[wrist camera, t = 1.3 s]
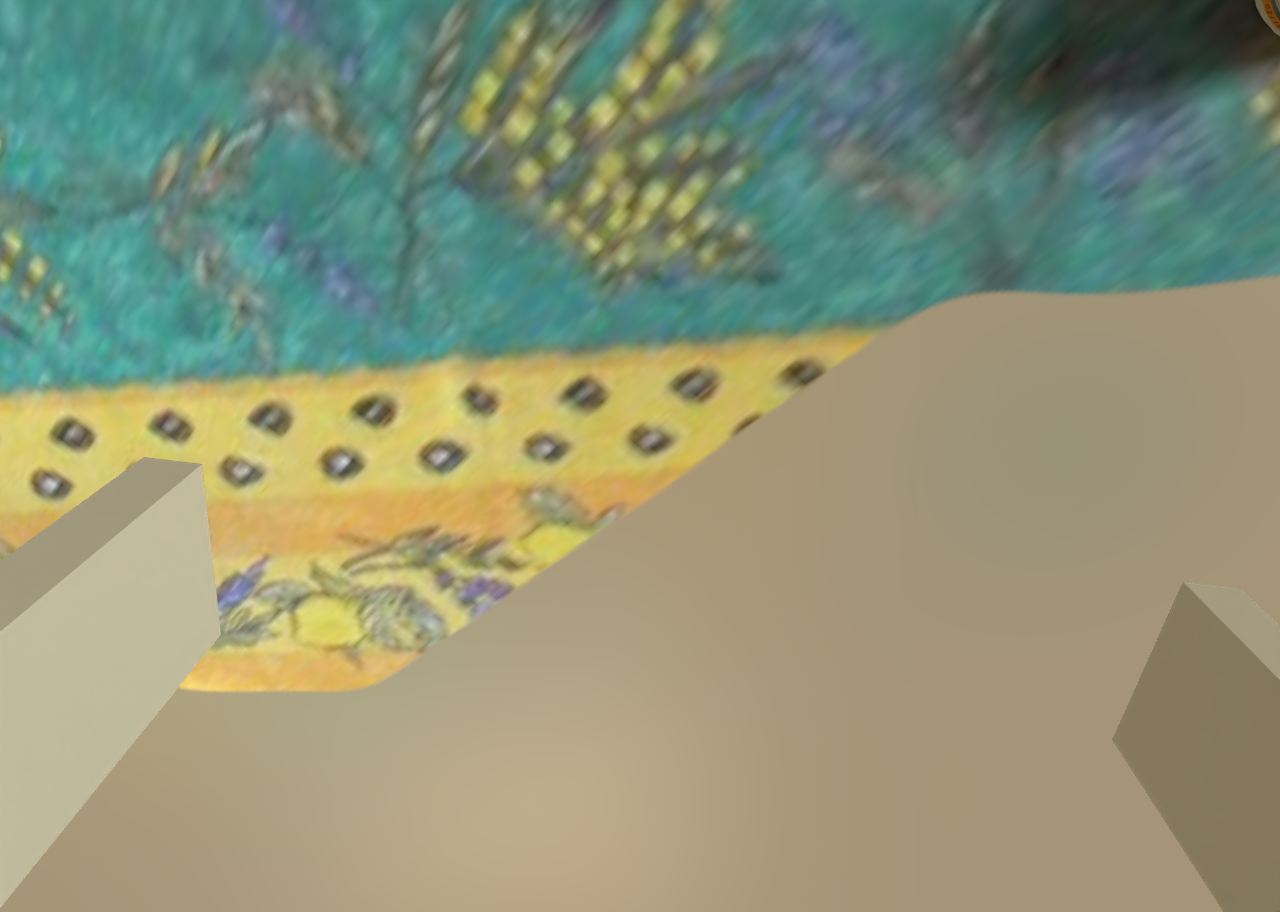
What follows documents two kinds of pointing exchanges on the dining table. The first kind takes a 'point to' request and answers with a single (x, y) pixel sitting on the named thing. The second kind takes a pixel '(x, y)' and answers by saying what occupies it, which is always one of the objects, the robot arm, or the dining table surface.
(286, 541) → the dining table surface
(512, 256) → the dining table surface
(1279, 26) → the pill bottle
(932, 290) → the dining table surface
